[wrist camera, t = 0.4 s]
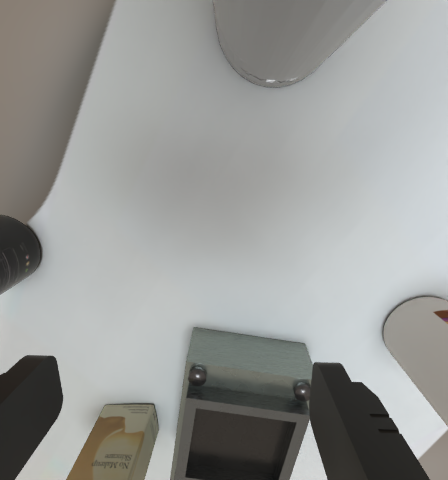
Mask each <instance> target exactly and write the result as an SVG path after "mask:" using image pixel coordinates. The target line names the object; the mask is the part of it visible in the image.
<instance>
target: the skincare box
mask: <svg viewBox="0 0 448 480" xmlns="http://www.w3.org/2000/svg"><path fill="white" fill-rule="evenodd" d="M157 434H158V423H157V417H156V412H155V408H154V405H139V404H138V405H135V404H132V405H105V406H104V408H103V410H102V412H101V414H100V416H99V418H98V420H97V421H96V423H95V425H94V427H93V429H92V431H91V433H90V435H89V437H88V439H87V441H86V443H85V444H84V446H83V448H82V450H81V452H80V454H79V456H78V458H77V460H76V462H75V464H74V466H73V468H72V470H71V471H70V473H69V475H68V477H67V479H66V480H144V479H145V476H146V472H147V469H148V465H149V462H150V458H151V455H152V451H153V448H154V445H155V441H156V438H157Z"/></svg>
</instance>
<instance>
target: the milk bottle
mask: <svg viewBox="0 0 448 480" xmlns="http://www.w3.org/2000/svg"><path fill="white" fill-rule="evenodd" d="M383 331H384V334H383V336H384V342H385V345H386V347H387V349H388V350H389V351H390V353H391V354H392V356H393V357H394V358H395V360H396V361H397V362H398V363H399V365H400V366H401V367H402V369H403V370H404V371H405V373H406V374H407V375H408V376H409V378H410V379H411V380H412V382H413V383H414V384H415V385H416V387H417V388H418V389H419V391H420V392H421V393H422V394H423V396H424V397H425V398H426V400H427V401H428V402H429V403H430V405H431V406H432V407H433V408H434V410H435V411H436V412H437V413H438V415H439V416H440V417H441V419H442V420H443V421H444V422H445V424H446V425H447V426H448V301H446V300H444V299H440V298H435V297H420V298H415V299H412V300H409V301H407V302H405V303H403V304H402V305H400V306H399V307H397V308H396V309H395V310H394V311H393V312H392V313H391V314H390V316H389V317H388V318H387V321H386V323H385V326H384V330H383Z"/></svg>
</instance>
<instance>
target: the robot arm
mask: <svg viewBox="0 0 448 480" xmlns="http://www.w3.org/2000/svg"><path fill="white" fill-rule="evenodd" d="M386 1H387V0H213V6H214V13H215V21H216V28H217V33H218V38H219V42H220V46H221V48H222V50H223V52H224V55H225V57H226V59H227V60H228V61H229V63H230V64H231V66H232V67H233V69H235V70H236V71H237V72H238V73H239V74H240V75H241V76H242V77H243V78H245V79H247V80H249V81H250V82H252V83H254V84H258V85H261V86H264V87H282V86H288V85H291V84H293V83H296V82H298V81H300V80H302V79H304V78H305V77H307V76H308V75H309V74H311V73H312V72H313V71H314V70H315V69H316V68H317V67H319V66H320V65H321V64H322V63H323V62H324V61H325V60H326V59H327V58H328V57H329V56H330V55H331V54H332V53H333V52H334V51H336V50H337V49H338V48H339V47H340V46H341V45H342V44H343V43H344V42H345V41H346V40H347V39H348V38H349V37H350V36H351V35H352V34H353V33H354V32H355V31H356V30H357V29H358V28H359V27H360V26H361V25H362V24H364V23H365V22H366V21H367V20H368V19H369V18H370V17H371V16H372V15H373V14H374V13H375V12H376V11H377V10H378V9H379V8H380V7H381V6H382V5H383V4H384V3H385V2H386ZM62 403H63V393H62V388H61V382H60V376H59V371H58V365H57V360H56V358H55V357H54V356H38V355H27V356H25V357H23V358H22V359H20V360H19V361H18V362H17V363H16V364H15V365H14V366H13V367H12V368H11V369H9V370H8V371H7V372H6V373H3V374H1V375H0V480H15V478H16V477H17V476H18V474H19V473H20V471H21V470H22V468H23V467H24V465H25V464H26V463H27V461H28V460H29V458H30V457H31V455H32V454H33V452H34V451H35V450H36V448H37V447H38V445H39V444H40V442H41V441H42V439H43V438H44V437H45V435H46V434H47V432H48V431H49V429H50V428H51V426H52V425H53V424H54V422H55V421H56V419H57V417H58V416H59V413H60V411H61V408H62ZM309 415H310V421H311V426H312V430H313V433H314V436H315V440H316V443H317V446H318V449H319V453H320V456H321V459H322V463H323V466H324V469H325V472H326V476H327V479H328V480H430V479H429V477H428V476H427V474H426V473H425V471H424V469H423V468H422V466H421V465H420V463H419V461H418V460H417V458H416V457H415V455H414V454H413V452H412V450H411V449H410V447H409V446H408V444H407V442H406V441H405V439H404V438H403V436H402V434H399V431H398V428H397V427H396V425H395V423H394V422H393V420H392V419H391V418H389V414H388V412H387V411H386V409H385V408H384V406H383V404H382V403H381V401H380V400H379V398H378V397H377V396H376V395H375V394H374V393H373V392H372V391H371V390H370V389H368V388H367V387H366V386H365V385H364V384H363V383H362V382H351V380H350V378H349V376H348V374H347V373H346V371H345V369H344V367H343V366H342V364H340V363H320V362H315V363H314V364H313V369H312V379H311V389H310V399H309Z"/></svg>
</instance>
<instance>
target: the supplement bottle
mask: <svg viewBox="0 0 448 480" xmlns="http://www.w3.org/2000/svg"><path fill="white" fill-rule="evenodd" d="M39 261H40V247H39V244H38V241H37V239H36V237H35V236H34V234H33V233H32V232H31V230H30V229H29V228H28V227H27V226H25V225H24V224H23V223H21V222H20V221H18V220H16V219H14V218H11V217H9V216H5V215H0V295H1V294H2V293H4V292H5V291H7V290H8V289H10V288H12V287H13V286H15V285H16V284H18V283H19V282H21V281H22V280H24V279H25V278H27V277H28V276H29V275H31V274H32V273H33V272H34V271H35V270H36V268H37V266H38V264H39Z"/></svg>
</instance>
